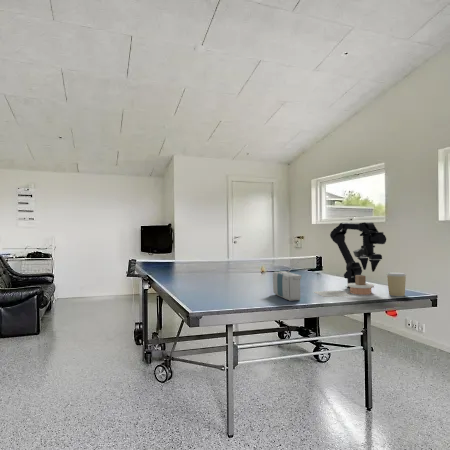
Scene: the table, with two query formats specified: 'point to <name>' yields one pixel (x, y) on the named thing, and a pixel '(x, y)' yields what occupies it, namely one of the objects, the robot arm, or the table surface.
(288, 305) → the table surface
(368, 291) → the bowl
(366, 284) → the lid
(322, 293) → the mat
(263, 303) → the table surface
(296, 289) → the white blue box
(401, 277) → the coffee cup
